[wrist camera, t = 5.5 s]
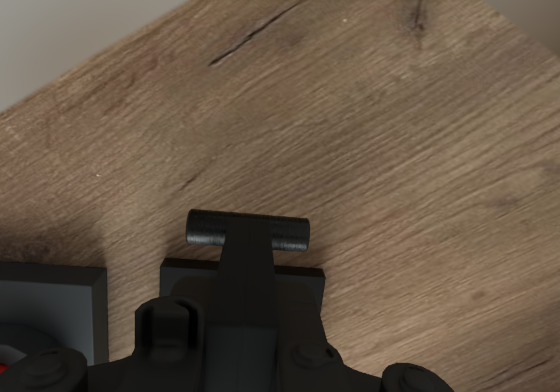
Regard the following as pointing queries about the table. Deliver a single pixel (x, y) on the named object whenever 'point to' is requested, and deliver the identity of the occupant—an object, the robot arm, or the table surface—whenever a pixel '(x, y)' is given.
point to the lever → (284, 230)
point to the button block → (52, 310)
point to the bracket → (179, 268)
